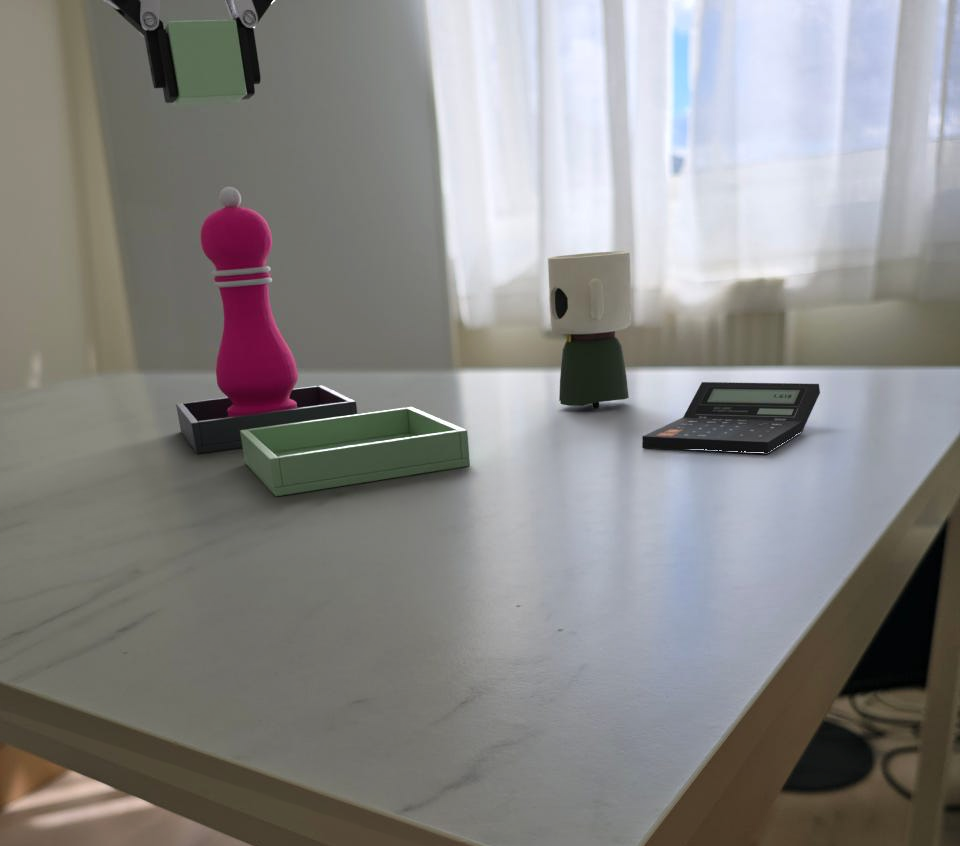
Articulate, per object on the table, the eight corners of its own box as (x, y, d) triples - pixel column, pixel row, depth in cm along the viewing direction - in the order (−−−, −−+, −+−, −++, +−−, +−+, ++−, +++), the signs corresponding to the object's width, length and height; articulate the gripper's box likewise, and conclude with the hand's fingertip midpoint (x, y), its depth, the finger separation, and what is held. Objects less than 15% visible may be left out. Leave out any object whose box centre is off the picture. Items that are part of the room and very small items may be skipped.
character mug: (550, 400, 98) (543, 256, 93) (624, 394, 98) (621, 249, 93) (559, 420, 88) (552, 259, 83) (642, 413, 88) (639, 252, 83)
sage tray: (275, 496, 69) (269, 458, 68) (245, 462, 81) (239, 430, 80) (470, 465, 74) (467, 430, 73) (415, 438, 85) (412, 406, 84)
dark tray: (196, 454, 86) (191, 423, 85) (180, 431, 97) (175, 403, 96) (359, 430, 90) (356, 401, 89) (325, 411, 102) (322, 385, 101)
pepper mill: (244, 418, 98) (208, 191, 90) (315, 415, 96) (284, 184, 89) (211, 433, 91) (169, 189, 84) (286, 430, 90) (250, 182, 82)
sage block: (180, 97, 69) (167, 21, 67) (174, 106, 73) (161, 34, 71) (247, 94, 70) (235, 19, 69) (237, 103, 74) (226, 32, 73)
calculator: (642, 447, 75) (641, 406, 74) (703, 418, 84) (703, 381, 83) (767, 454, 70) (768, 410, 69) (818, 422, 79) (820, 382, 78)
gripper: (277, -195, 71) (315, 100, 77) (17, -206, 65) (82, 111, 72) (300, -242, 64) (339, 85, 71) (12, -259, 59) (85, 96, 66)
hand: (209, 95), depth 72 cm, fingers closed on sage block, 4 cm apart
